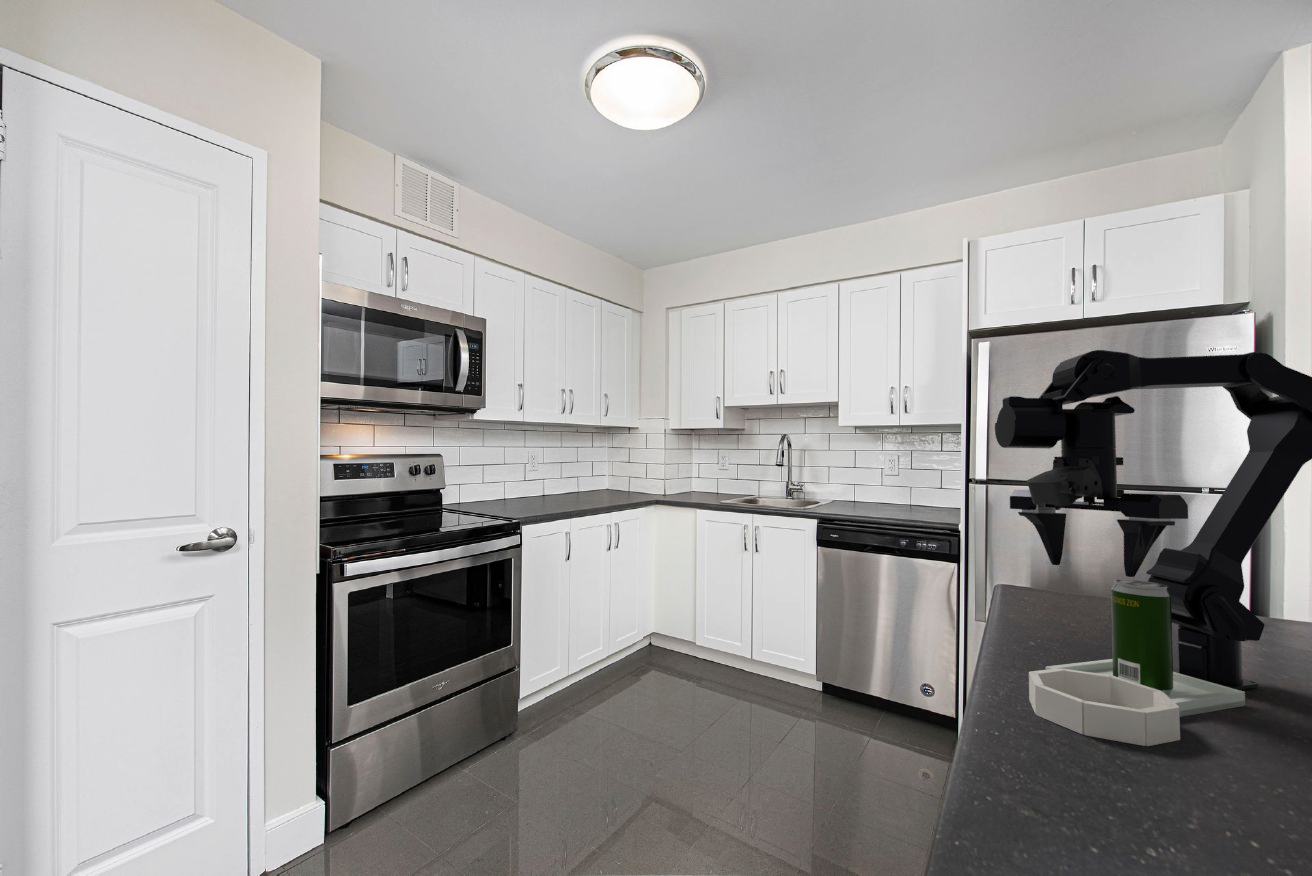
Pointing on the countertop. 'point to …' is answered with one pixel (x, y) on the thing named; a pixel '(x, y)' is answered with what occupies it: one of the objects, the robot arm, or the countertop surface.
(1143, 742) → the cup
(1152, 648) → the beer can
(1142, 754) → the countertop surface
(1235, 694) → the tray
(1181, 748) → the countertop surface
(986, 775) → the countertop surface
